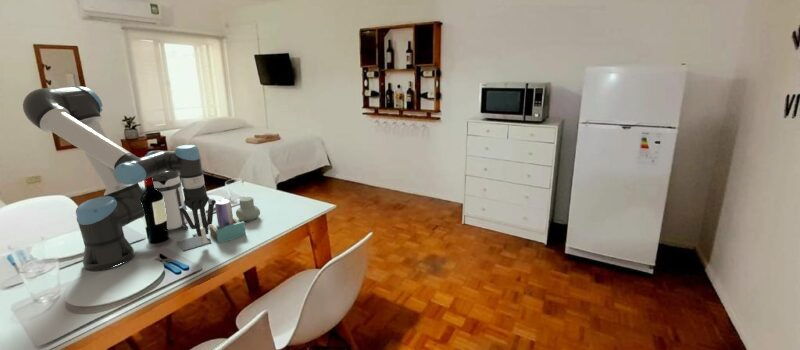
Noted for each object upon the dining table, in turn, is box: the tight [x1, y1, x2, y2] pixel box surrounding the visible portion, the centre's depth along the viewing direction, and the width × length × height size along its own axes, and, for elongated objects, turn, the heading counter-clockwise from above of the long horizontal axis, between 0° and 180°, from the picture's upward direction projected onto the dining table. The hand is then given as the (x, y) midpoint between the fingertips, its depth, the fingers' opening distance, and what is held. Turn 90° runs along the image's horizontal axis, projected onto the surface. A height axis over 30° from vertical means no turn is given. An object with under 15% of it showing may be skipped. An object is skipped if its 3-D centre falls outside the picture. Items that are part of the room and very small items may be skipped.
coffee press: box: [152, 171, 189, 231], centre depth 161 cm, size 17×16×30 cm
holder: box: [208, 217, 240, 242], centre depth 159 cm, size 11×9×4 cm
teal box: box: [216, 220, 247, 244], centre depth 154 cm, size 11×2×7 cm, turn 132°
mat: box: [176, 235, 212, 252], centre depth 152 cm, size 10×10×1 cm
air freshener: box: [235, 196, 261, 222], centre depth 173 cm, size 11×8×10 cm
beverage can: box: [214, 198, 234, 227], centre depth 157 cm, size 6×6×15 cm
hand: (204, 242), depth 147 cm, fingers closed
